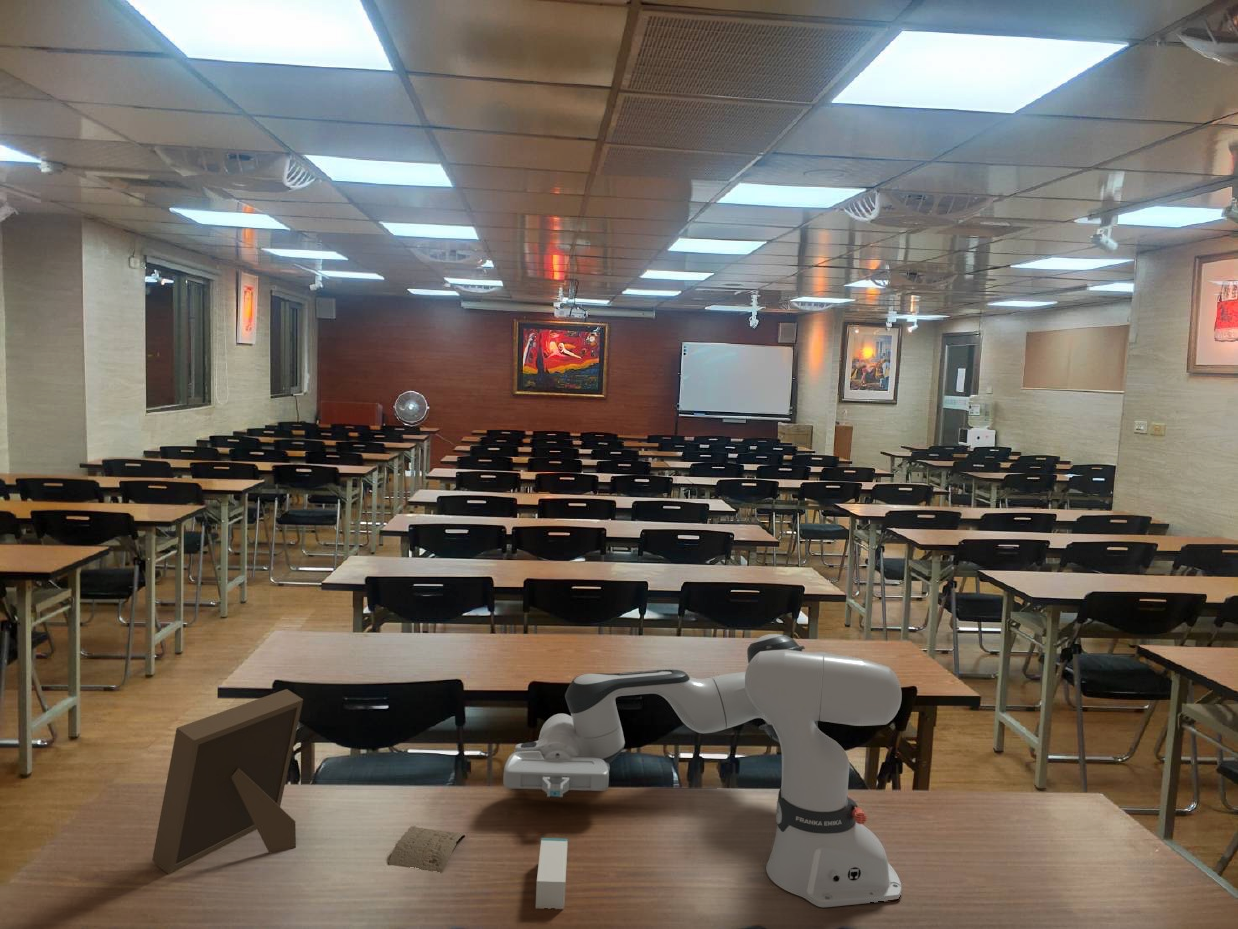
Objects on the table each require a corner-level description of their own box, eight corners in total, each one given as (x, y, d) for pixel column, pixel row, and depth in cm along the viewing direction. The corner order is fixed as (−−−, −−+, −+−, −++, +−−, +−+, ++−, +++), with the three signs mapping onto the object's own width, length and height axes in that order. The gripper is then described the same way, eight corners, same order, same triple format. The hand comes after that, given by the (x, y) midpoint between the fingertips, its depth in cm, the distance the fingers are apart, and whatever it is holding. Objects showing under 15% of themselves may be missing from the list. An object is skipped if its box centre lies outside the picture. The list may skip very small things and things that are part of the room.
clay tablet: (417, 827, 159) (417, 813, 159) (470, 834, 158) (470, 820, 158) (384, 871, 145) (385, 856, 145) (442, 879, 143) (443, 863, 143)
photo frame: (152, 866, 142) (154, 719, 139) (261, 812, 161) (265, 682, 159) (212, 895, 135) (215, 742, 133) (319, 835, 154) (323, 700, 152)
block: (567, 838, 148) (565, 882, 135) (566, 863, 149) (564, 909, 136) (541, 838, 148) (536, 881, 135) (540, 863, 149) (535, 908, 136)
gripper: (608, 777, 174) (610, 811, 160) (506, 774, 173) (499, 808, 159) (610, 746, 173) (611, 778, 159) (507, 744, 172) (500, 775, 159)
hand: (555, 793), depth 159 cm, fingers closed
